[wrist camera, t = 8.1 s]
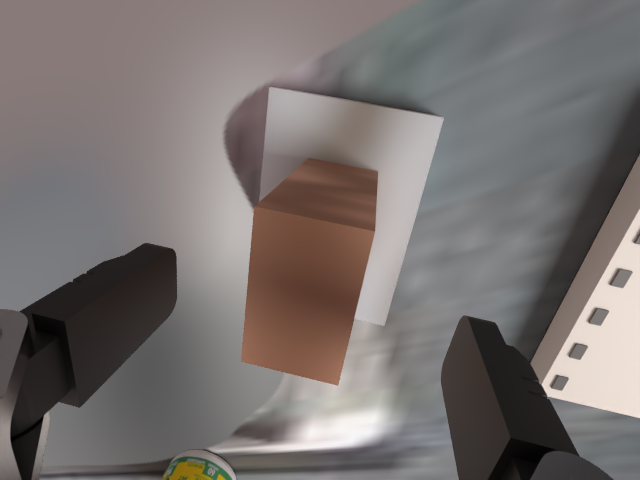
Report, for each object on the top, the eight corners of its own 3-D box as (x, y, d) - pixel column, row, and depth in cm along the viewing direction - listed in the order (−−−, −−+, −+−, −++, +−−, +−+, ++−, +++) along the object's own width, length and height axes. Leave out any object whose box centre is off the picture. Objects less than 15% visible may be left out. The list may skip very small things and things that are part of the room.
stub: (438, 115, 15) (498, 140, 7) (384, 309, 19) (385, 458, 11) (279, 87, 16) (176, 82, 8) (259, 280, 20) (179, 403, 12)
